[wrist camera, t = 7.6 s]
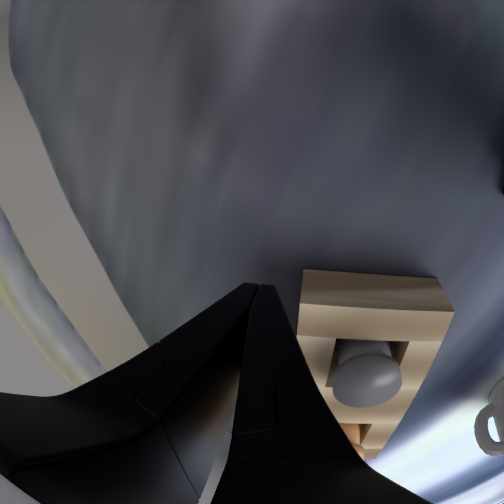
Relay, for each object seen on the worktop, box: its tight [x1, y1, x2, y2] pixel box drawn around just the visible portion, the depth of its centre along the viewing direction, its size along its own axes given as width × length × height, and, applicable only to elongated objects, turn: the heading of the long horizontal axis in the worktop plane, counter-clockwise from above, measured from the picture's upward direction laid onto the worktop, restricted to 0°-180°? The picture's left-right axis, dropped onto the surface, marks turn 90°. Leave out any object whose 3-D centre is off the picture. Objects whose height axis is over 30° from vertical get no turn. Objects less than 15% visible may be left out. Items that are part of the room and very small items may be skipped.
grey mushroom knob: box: [333, 338, 402, 408], centre depth 20 cm, size 5×5×6 cm
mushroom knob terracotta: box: [339, 423, 364, 460], centre depth 24 cm, size 5×5×6 cm
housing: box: [297, 269, 454, 459], centre depth 24 cm, size 20×10×4 cm, turn 0°
